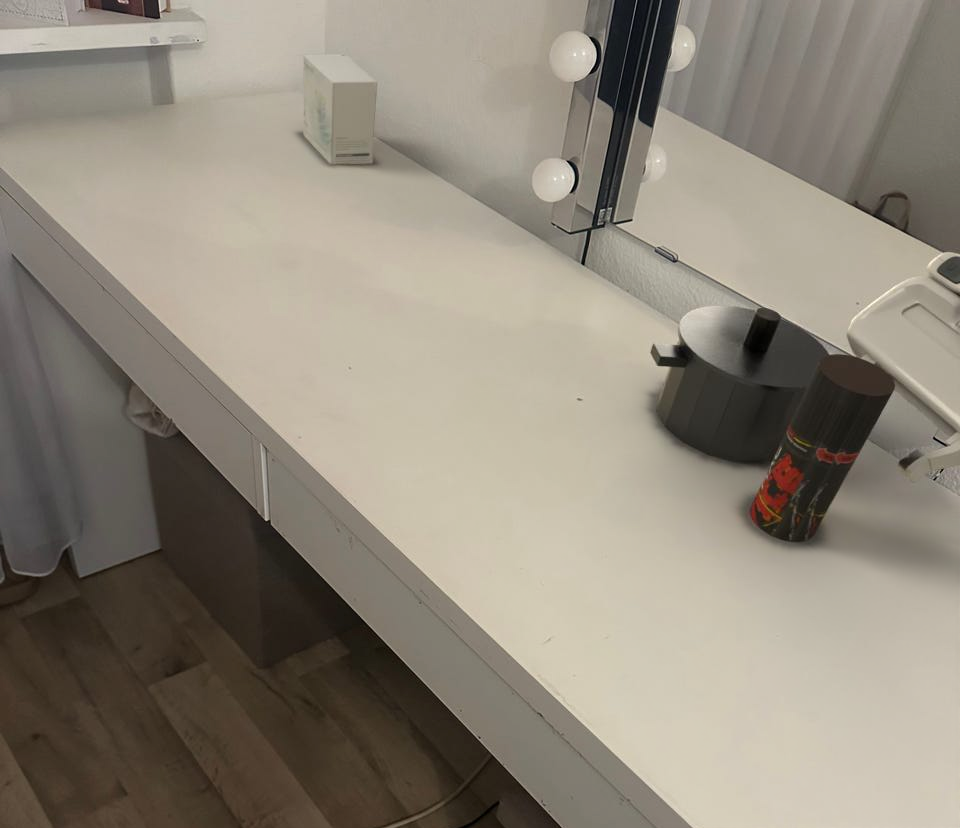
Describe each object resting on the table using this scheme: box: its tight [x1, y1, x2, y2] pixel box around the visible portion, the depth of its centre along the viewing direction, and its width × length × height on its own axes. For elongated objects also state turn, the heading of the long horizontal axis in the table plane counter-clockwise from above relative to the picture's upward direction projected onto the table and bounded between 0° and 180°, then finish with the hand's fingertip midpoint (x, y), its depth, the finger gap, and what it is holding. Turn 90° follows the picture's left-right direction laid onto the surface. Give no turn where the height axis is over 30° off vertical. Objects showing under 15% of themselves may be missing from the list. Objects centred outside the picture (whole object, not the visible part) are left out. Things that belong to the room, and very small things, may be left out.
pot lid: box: [677, 305, 830, 392], centre depth 83 cm, size 15×15×4 cm
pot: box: [649, 339, 806, 465], centre depth 87 cm, size 14×19×8 cm
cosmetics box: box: [302, 53, 378, 165], centre depth 120 cm, size 10×6×10 cm, turn 28°
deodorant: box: [749, 353, 895, 543], centre depth 75 cm, size 6×6×15 cm
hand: (868, 439), depth 76 cm, fingers open, 8 cm apart
